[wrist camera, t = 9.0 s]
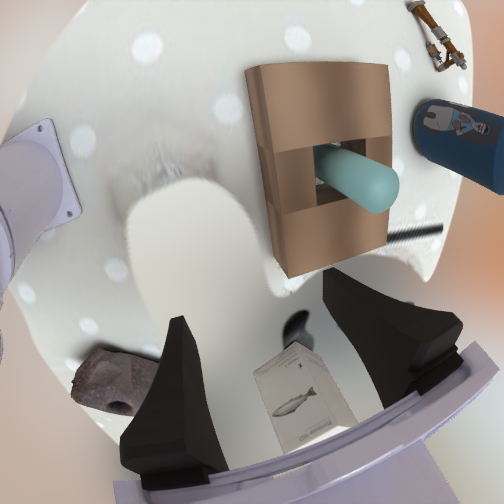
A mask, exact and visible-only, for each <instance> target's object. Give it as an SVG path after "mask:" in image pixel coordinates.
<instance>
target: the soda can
mask: <svg viewBox="0 0 504 504" xmlns="http://www.w3.org/2000/svg"><path fill="white" fill-rule="evenodd" d="M413 133H414V139H415V142H416V144H417V146H418V147H419V149H420V151H421V152H422V153H423V155H424V156H425V157H426V158H427V159H428V160H429V161H431V162H434V163H436V164H438V165H441V166H443V167H445V168H447V169H450V170H452V171H454V172H456V173H458V174H460V175H462V176H464V177H466V178H468V179H470V180H472V181H474V182H476V183H478V184H480V185H482V186H484V187H486V188H488V189H490V190H491V191H493V192H495V193H497V194H499V195H504V117H502V116H499V115H496V114H493V113H489V112H487V111H483V110H479V109H476V108H473V107H469V106H466V105H462V104H458V103H454V102H449V101H445V100H440V99H434V100H431V101H429V102H428V103H426V104H424V105H423V106H421V107H420V109H419V110H418V111H417V113H416V116H415V119H414V125H413Z"/></svg>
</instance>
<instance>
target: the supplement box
mask: <svg viewBox="0 0 504 504" xmlns="http://www.w3.org/2000/svg"><path fill="white" fill-rule="evenodd" d="M253 374H254V377H255V380H256V382H257V385H258V388H259V391H260V393H261V396H262V399H263V401H264V404H265V406H266V409H267V412H268V414H269V417H270V420H271V422H272V425H273V428H274V430H275V433H276V435H277V438H278V441H279V443H280V446H281V448H282V450H283V453H284V455H285V454H288V453H291V452H294V451H297V450H299V449H302V448H305V447H307V446H310V445H312V444H315V443H317V442H320V441H322V440H324V439H327V438H329V437H331V436H334V435H336V434H338V433H340V432H342V431H344V430H347V429H349V428H351V427H353V426H355V425H357V424H359V423H358V421H357V419H356V418H355V416H354V414H353V412H352V411H351V409H350V407H349V405H348V403H347V402H346V400H345V398H344V397H343V395H342V393H341V392H340V389H339V388H338V386H337V384H336V382H335V381H334V379H333V377H332V375H331V374H330V372H329V370H328V369H327V367H326V365H325V363H324V361H323V360H322V358H321V357H320V356H319V355H317V354H315V353H314V352H312V351H311V350H309V349H307V348H306V347H304V346H303V345H301V344H299V343H298V342H296V341H295V342H293V343H292V344H291V345H290V346H289V347H288V348H286V349H285V350H284V351H283V352H281V353H280V354H279V355H277V356H276V357H274V358H273V359H272V360H270V361H269V362H267V363H266V364H265V365H263V366H262V367H260V368H259V369H257V370H255V371H254V372H253Z"/></svg>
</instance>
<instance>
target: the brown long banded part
mask: <svg viewBox="0 0 504 504" xmlns="http://www.w3.org/2000/svg"><path fill="white" fill-rule="evenodd" d="M424 4H425V2H424V0H420V1H414V2H413V3H412V4H411V5H410V6H409V7H408V8H407V9H408V11H409V12H410V11H413V12H414V13H416V14H417V15H418V16H419V17H420V18H421V19H422V20H423V21H424V22H425V23H426V24H427V25H428V26H429V27H430V29H431V32H432V33H433V34H434V35H435V36H436V38H437V40H440V41H441V42H439V43H441V45H442V44H443V45H444V46H445V48H446V49H447V53H446V61H445V62H444V63H443V62H442V60H441V58H442V57H440V56H439V55H440V53H441V52H439V51H438V50H437V48H436V47H435V44H432V45H431V43H430V42H429V41H427V42H426V45H427V46H428V47H427V48H426V49H427V50H428V51H429V52H430V54H431V55H432V56H431V57H436V58H437V59H436V60H438V61H439V60H441V61H439V62H440V63H441V62H442V63H443V64H441V65H440V66H439V67H438V68H436V69H437V70H438V72H441V71H444V70H446V69H447V68H449V66H451V65H453V64H454V63H456V65H457V66H460V67H461V68H462V69H463V70H465V69H466V68H467V66H466V64H464V63H465V62H466V60H465V59H464V55H463V53H460V51H457V50H456V48H455V47H454V45H453V44H452V43H451V41H450V40H451V39H450V38H448V37H447V34H446V33H445V32H444V31H443V30H442V28H441V26H438V25H437V23H436V22H435V21H434V19H433V18H432V17H431V15H430V14H429V12H428V11H427V9H426V8H425V6H424ZM449 54H451V55H450V56H451V57H452V59H451V60H449ZM439 57H440V58H439Z"/></svg>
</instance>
